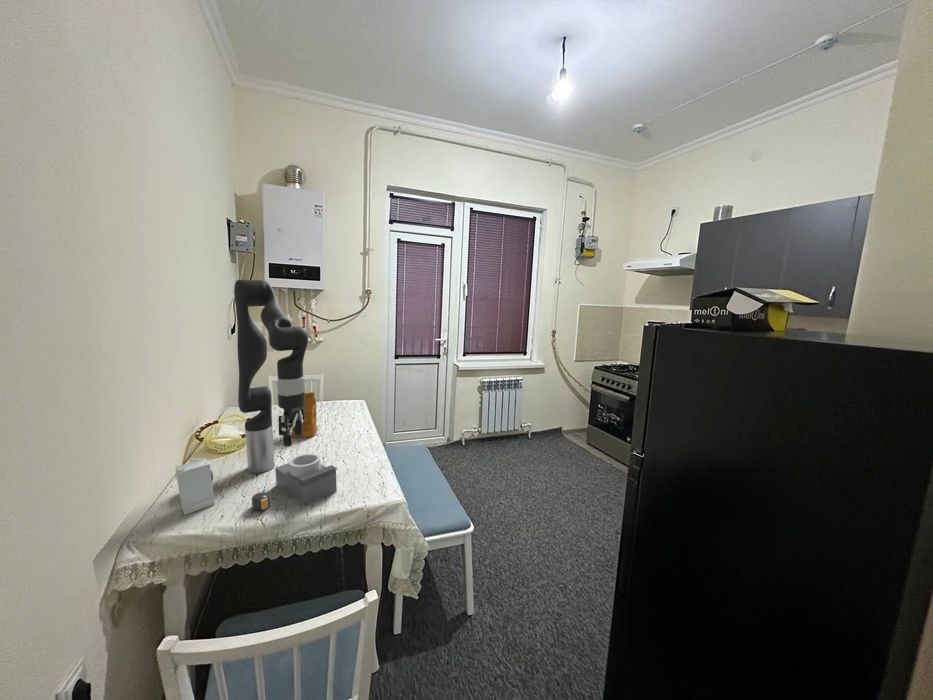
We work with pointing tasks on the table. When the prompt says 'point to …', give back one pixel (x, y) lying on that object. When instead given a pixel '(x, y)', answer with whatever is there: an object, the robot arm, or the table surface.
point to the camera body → (306, 478)
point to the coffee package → (308, 417)
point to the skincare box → (195, 485)
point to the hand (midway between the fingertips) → (293, 440)
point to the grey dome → (260, 501)
